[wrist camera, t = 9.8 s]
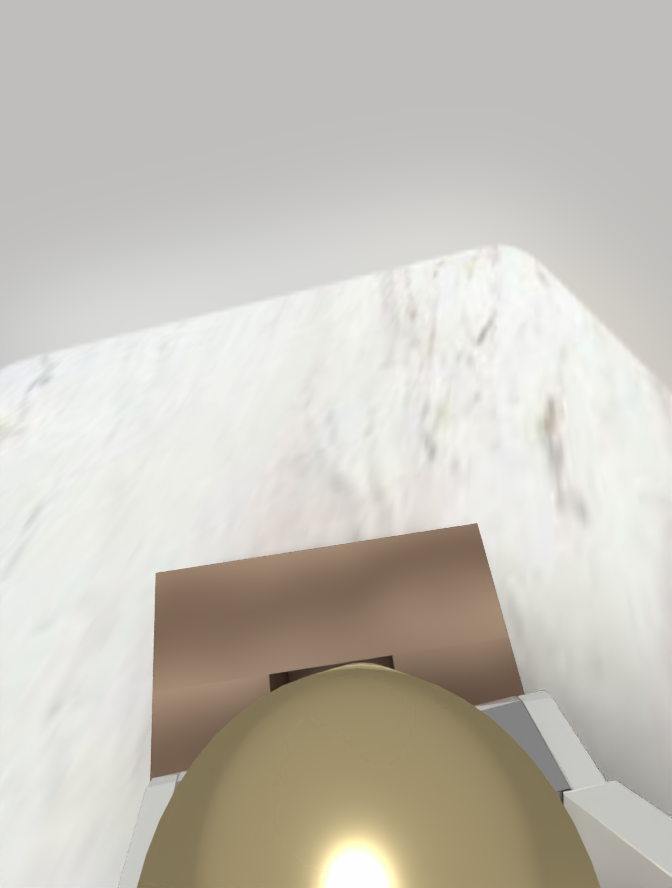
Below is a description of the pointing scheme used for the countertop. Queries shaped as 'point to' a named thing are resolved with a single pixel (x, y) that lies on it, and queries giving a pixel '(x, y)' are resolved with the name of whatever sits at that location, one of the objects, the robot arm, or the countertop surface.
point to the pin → (365, 796)
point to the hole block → (322, 629)
